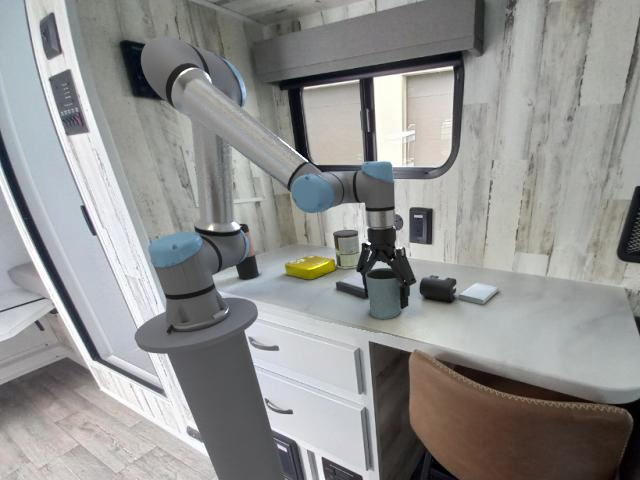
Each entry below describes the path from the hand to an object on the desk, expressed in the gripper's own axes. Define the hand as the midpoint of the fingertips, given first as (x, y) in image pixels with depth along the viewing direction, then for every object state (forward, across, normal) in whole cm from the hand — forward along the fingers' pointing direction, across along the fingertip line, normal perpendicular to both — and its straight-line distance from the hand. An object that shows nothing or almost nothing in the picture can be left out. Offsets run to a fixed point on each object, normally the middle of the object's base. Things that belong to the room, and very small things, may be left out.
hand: (386, 301), depth 88 cm
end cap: (+4, -7, -17) cm, 19 cm away
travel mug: (+3, +65, +9) cm, 66 cm away
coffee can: (+3, +43, -24) cm, 49 cm away
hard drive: (+4, -16, -27) cm, 31 cm away
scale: (+3, +19, -10) cm, 22 cm away
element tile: (+3, +49, -9) cm, 50 cm away
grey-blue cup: (+4, 0, 0) cm, 4 cm away
